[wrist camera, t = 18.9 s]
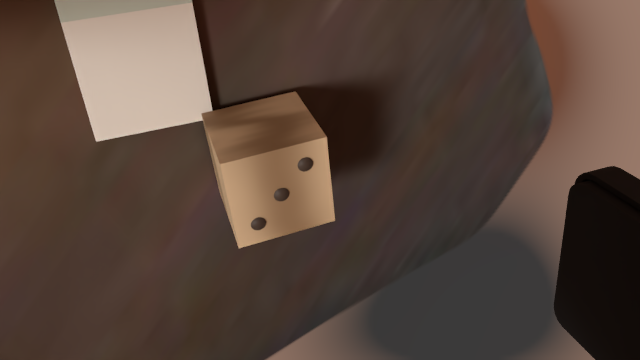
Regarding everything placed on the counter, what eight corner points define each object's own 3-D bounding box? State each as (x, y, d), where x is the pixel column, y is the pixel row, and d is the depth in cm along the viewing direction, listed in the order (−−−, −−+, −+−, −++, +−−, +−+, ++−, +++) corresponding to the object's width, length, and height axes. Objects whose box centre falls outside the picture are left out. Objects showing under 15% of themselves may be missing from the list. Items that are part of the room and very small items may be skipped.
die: (219, 192, 40) (239, 248, 35) (201, 113, 36) (220, 164, 32) (305, 169, 41) (335, 221, 36) (295, 91, 38) (327, 137, 33)
